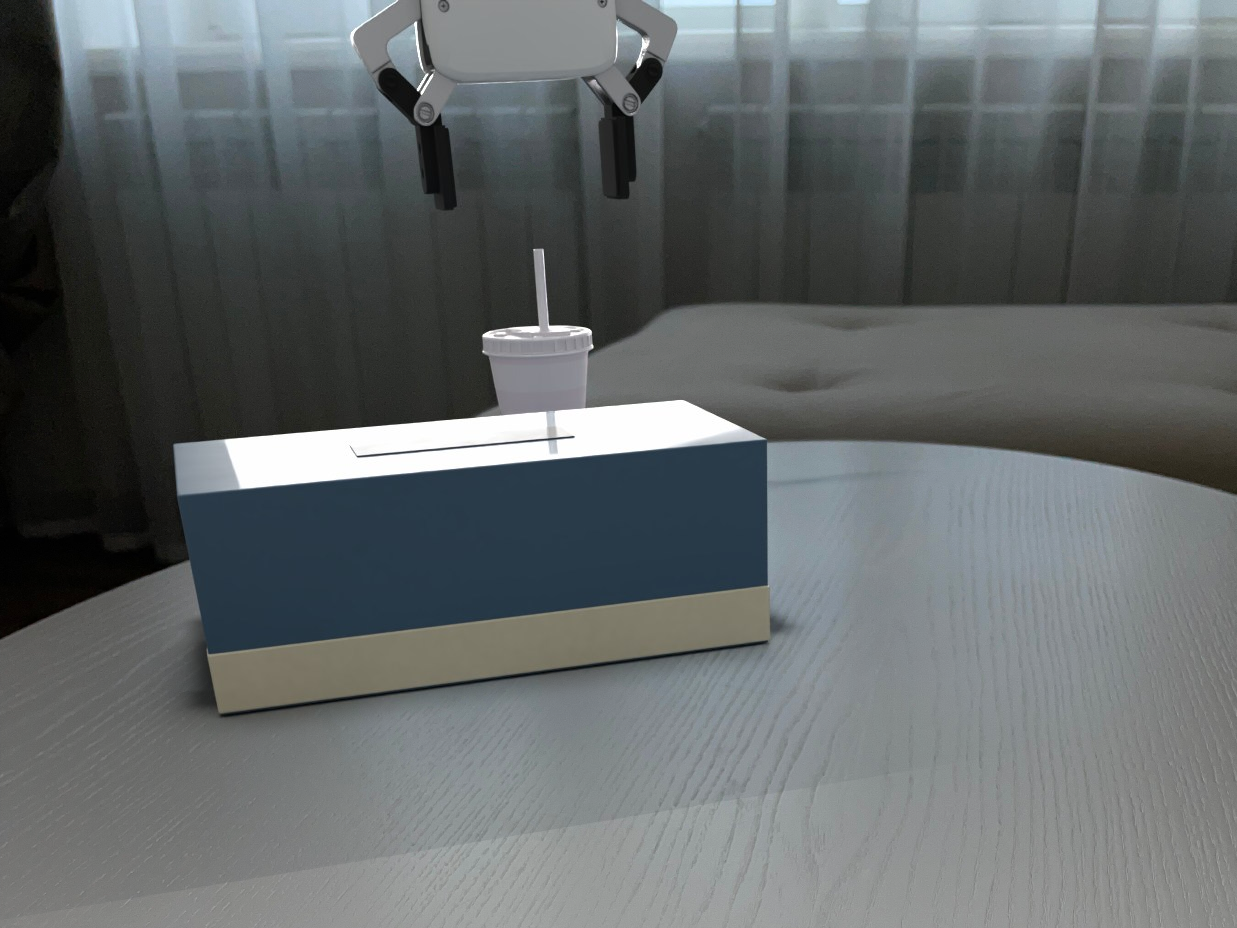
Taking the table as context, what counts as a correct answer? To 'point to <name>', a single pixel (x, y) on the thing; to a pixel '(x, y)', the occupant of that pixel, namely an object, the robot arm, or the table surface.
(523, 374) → the smoothie
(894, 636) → the table surface
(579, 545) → the tissue box
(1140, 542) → the table surface
